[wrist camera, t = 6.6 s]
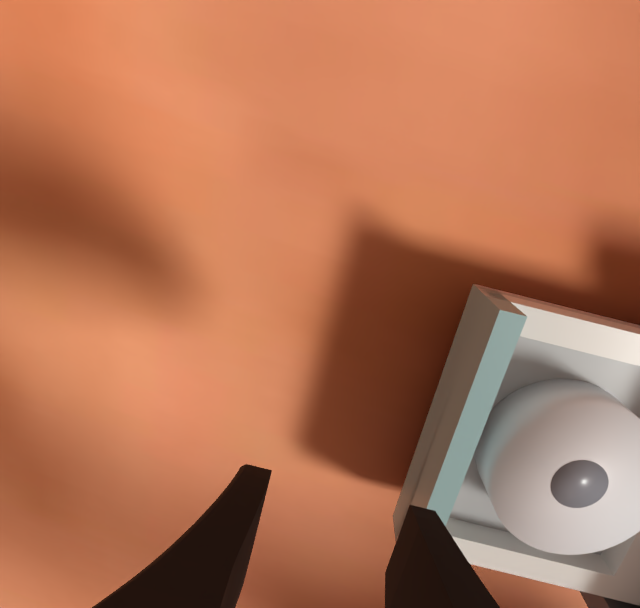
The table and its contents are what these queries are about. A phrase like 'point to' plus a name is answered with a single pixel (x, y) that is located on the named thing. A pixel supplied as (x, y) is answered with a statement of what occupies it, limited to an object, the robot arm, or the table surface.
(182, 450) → the table surface
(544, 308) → the tray
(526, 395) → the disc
